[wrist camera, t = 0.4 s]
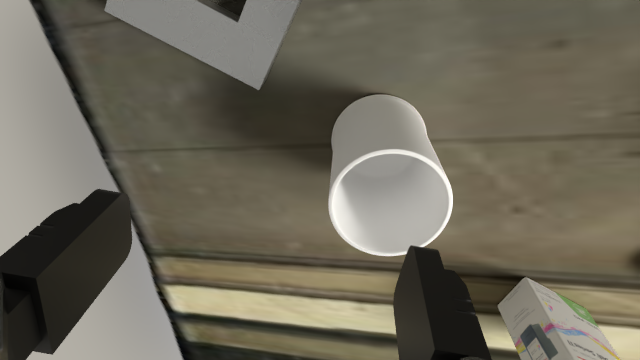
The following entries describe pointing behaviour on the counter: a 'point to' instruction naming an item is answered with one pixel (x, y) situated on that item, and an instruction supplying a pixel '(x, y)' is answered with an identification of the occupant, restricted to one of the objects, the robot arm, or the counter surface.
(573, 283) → the counter surface
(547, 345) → the ink box
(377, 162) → the mug
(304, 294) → the counter surface
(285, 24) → the socket plate
